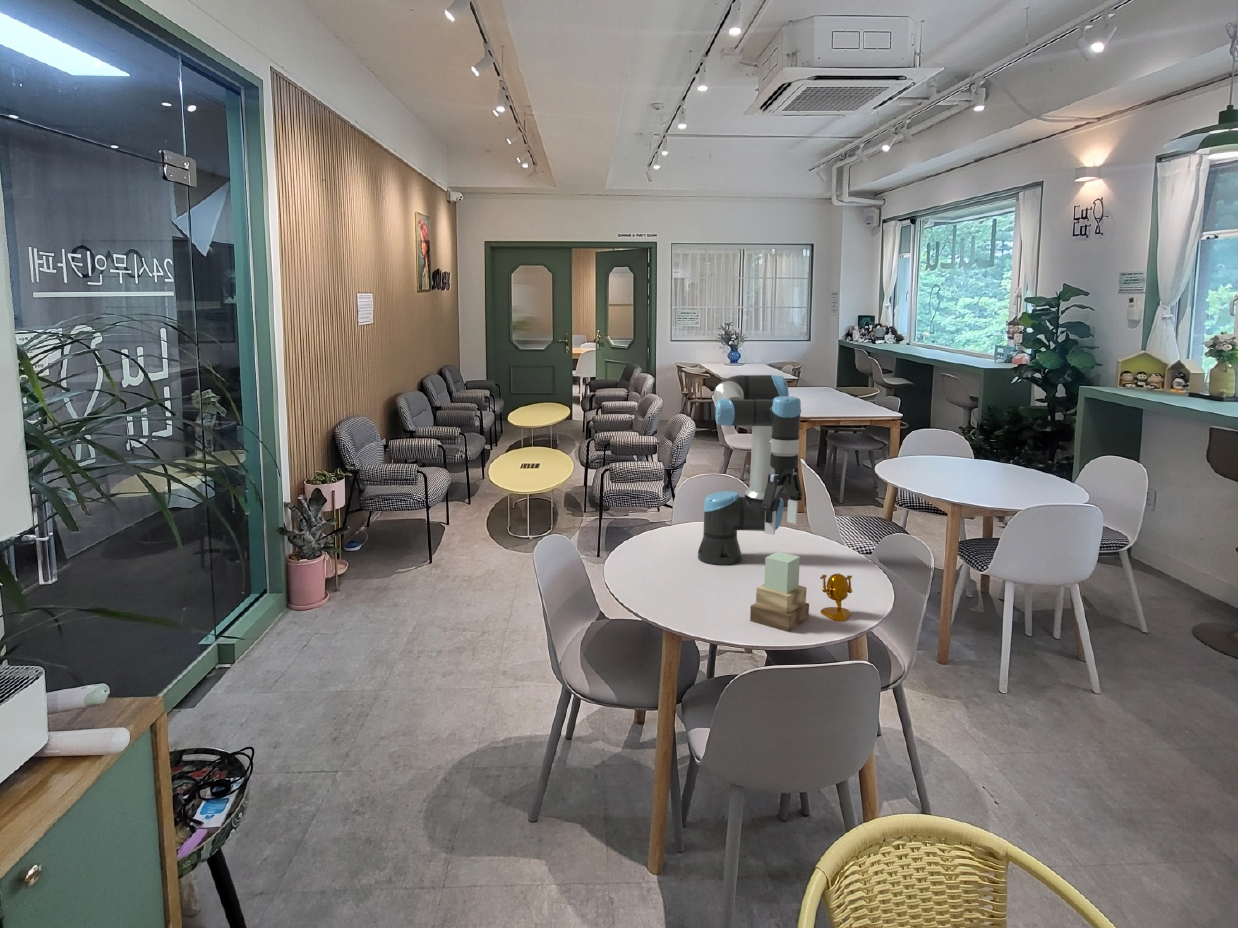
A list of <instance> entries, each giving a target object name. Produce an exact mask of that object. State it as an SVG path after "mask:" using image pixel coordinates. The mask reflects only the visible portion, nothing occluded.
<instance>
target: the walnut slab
mask: <svg viewBox="0 0 1238 928" xmlns="http://www.w3.org/2000/svg"><path fill="white" fill-rule="evenodd" d="M749 612H750V616H749V622H750V623H751V622H752V623H756V624H758V625H763V626H766V627H768V628H772V629H776V630H780V631H783V632H787V633H789V632H791V631H793V630H795V629H796V628H797V627H799V626H801V624H803V623H804V622H806V621H808V620H809V615H810V603H808V602H806V604H805V605H803V606H801V607H799V608H797V609H795V610H793V611H791V612H789V613H787V614H785V613H782V612H779V611H776V610H772V609H769V608H766V607H763V606H759V605H756V602H755V603H753V604H751V605H750V611H749Z"/></svg>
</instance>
